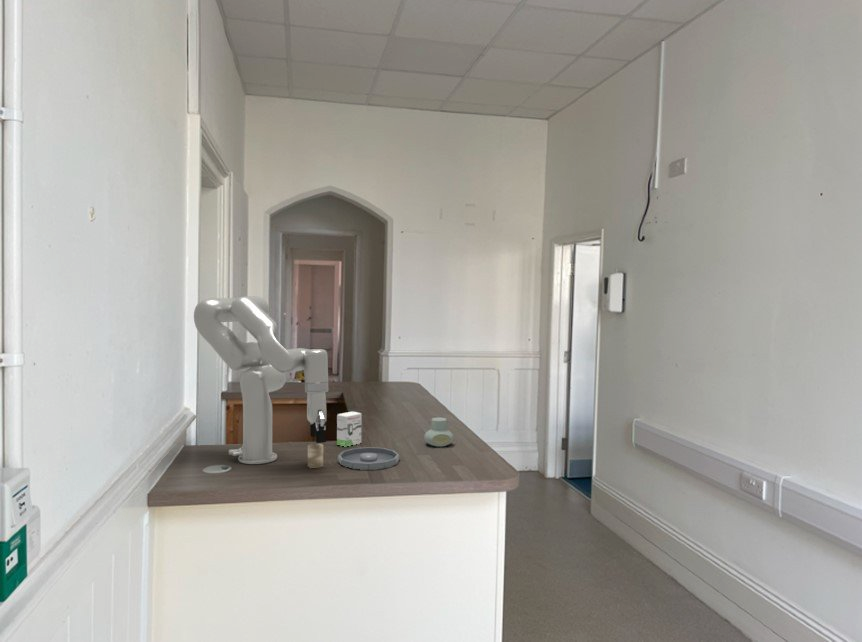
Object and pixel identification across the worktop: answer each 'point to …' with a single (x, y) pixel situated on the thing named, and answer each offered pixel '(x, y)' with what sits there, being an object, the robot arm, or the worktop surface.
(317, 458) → the beige cylinder
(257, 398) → the robot arm
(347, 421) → the ink box
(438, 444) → the air freshener
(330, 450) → the worktop surface
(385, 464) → the ring tray
